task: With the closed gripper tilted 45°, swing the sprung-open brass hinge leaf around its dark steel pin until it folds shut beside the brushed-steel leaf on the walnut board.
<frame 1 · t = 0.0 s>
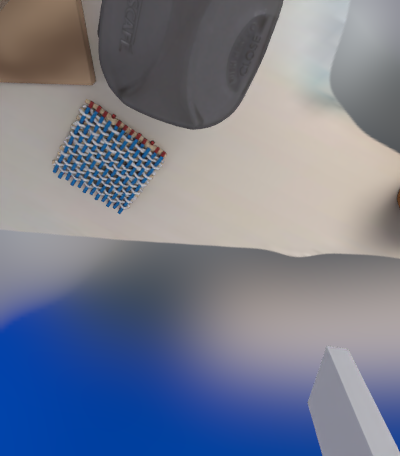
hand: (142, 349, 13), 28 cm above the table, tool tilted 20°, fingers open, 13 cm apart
woven mat: (111, 156, 40), on the table
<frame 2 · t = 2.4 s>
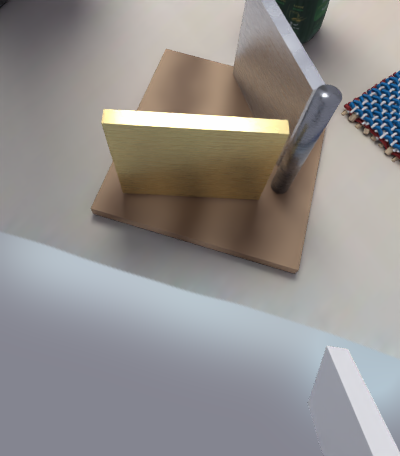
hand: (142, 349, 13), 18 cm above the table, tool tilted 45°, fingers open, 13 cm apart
coffee jar: (281, 24, 46), on the table
woven mat: (396, 124, 41), on the table
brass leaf: (193, 161, 29), point 7 cm above the table, hinge at 70.0°
steel leaf and pin: (276, 191, 36), resting on walnut board
walnut board: (222, 151, 37), on the table
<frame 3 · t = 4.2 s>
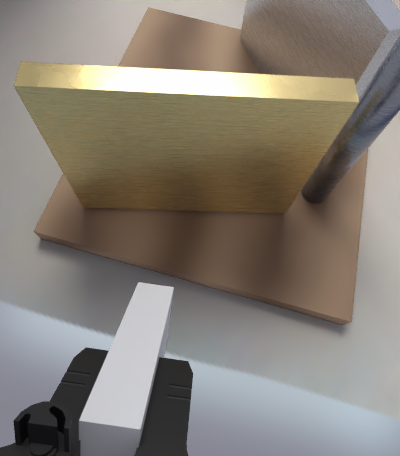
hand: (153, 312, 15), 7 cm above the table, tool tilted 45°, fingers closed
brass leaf: (187, 157, 18), point 7 cm above the table, hinge at 70.0°
steel leaf and pin: (307, 200, 25), resting on walnut board
walnut board: (228, 144, 26), on the table
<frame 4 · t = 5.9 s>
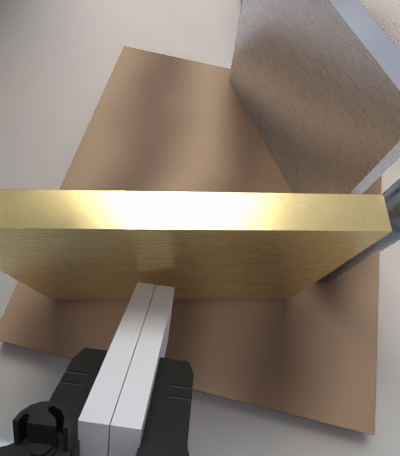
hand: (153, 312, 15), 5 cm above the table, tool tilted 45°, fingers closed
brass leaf: (171, 261, 15), point 7 cm above the table, hinge at 68.8°, touching gripper
steel leaf and pin: (314, 273, 22), resting on walnut board
walnut board: (220, 207, 23), on the table
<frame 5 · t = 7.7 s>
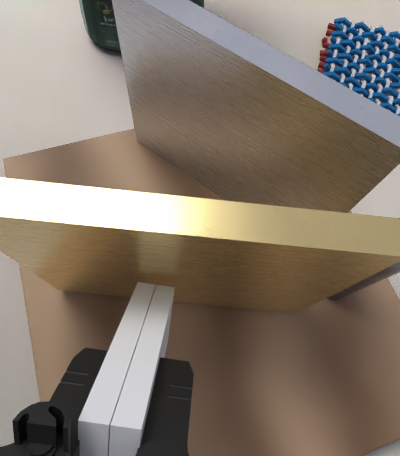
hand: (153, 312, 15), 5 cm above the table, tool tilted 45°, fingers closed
coffee jar: (145, 27, 29), on the table
woven mat: (374, 90, 29), on the table
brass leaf: (179, 265, 14), point 7 cm above the table, hinge at 31.3°, touching gripper
steel leaf and pin: (323, 289, 21), resting on walnut board
walnut board: (206, 277, 21), on the table
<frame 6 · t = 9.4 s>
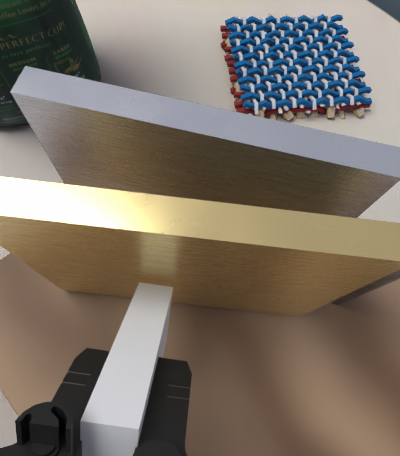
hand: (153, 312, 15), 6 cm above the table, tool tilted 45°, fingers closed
coffee jar: (36, 87, 26), on the table
woven mat: (286, 77, 29), on the table
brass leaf: (184, 266, 15), point 7 cm above the table, hinge at 6.8°, touching gripper
steel leaf and pin: (326, 293, 21), resting on walnut board
walnut board: (215, 331, 20), on the table
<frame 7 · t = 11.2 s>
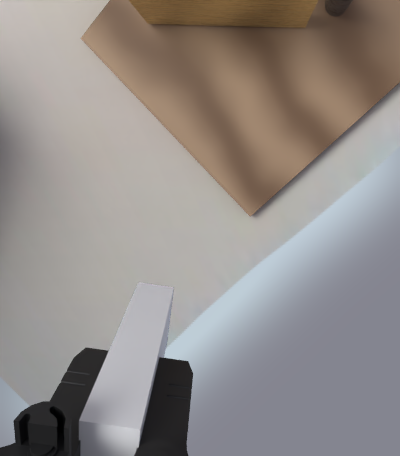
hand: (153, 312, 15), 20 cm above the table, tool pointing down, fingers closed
steel leaf and pin: (333, 9, 29), resting on walnut board
walnut board: (249, 46, 30), on the table
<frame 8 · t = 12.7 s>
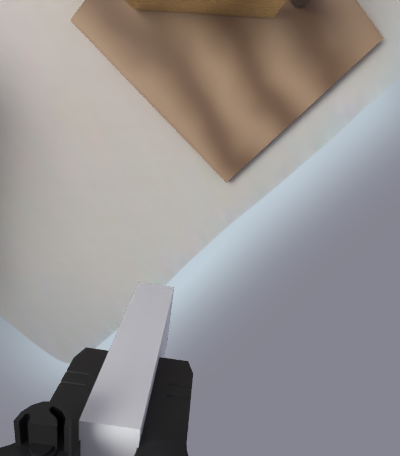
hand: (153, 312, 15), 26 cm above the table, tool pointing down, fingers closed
steel leaf and pin: (297, 0, 33), resting on walnut board
walnut board: (224, 31, 34), on the table
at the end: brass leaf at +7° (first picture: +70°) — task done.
